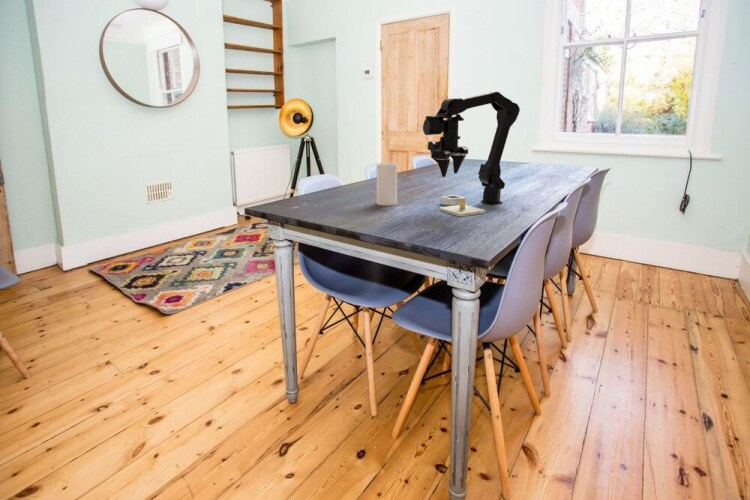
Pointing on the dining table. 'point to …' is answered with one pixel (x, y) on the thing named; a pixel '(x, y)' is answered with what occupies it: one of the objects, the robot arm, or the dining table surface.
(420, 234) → the dining table surface
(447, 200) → the link
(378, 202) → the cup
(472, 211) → the keeper
